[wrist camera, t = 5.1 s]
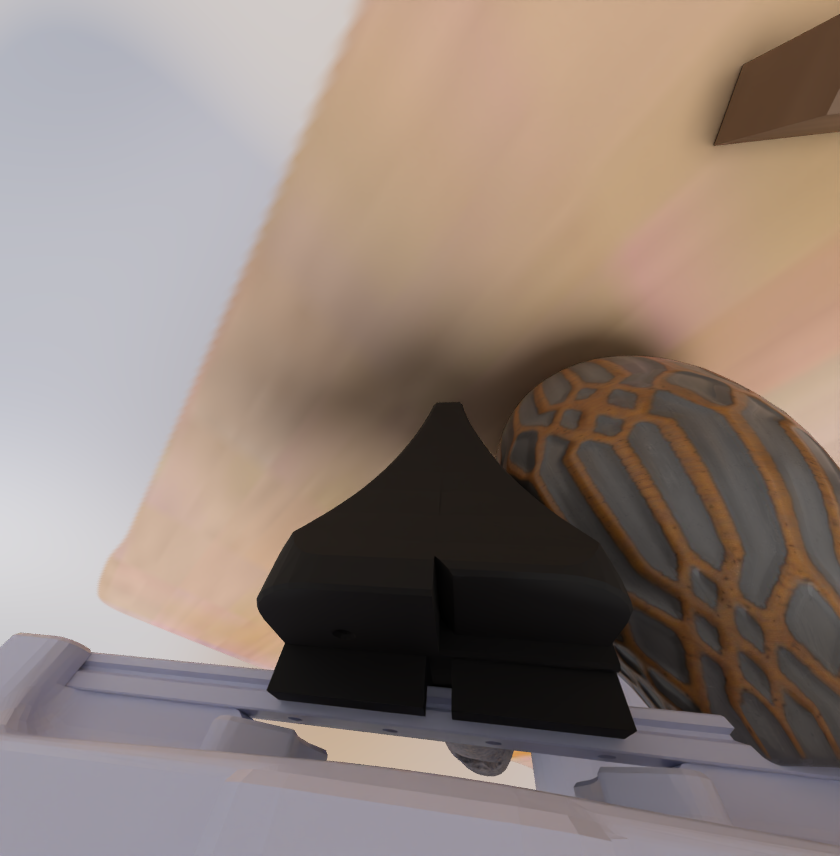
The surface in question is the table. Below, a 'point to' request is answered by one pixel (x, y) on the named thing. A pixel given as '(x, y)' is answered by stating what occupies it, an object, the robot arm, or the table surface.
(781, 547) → the vase
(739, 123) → the tray
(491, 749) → the perforated stone tool
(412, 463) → the robot arm
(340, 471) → the table surface
